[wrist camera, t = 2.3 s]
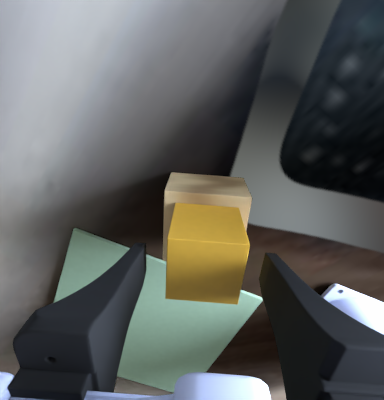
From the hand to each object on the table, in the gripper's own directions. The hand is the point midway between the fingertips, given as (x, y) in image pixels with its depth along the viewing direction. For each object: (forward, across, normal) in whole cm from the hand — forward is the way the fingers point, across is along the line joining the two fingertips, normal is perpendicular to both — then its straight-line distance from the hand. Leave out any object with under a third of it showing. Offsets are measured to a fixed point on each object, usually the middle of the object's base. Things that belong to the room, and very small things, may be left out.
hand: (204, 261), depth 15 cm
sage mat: (+7, +6, +16) cm, 19 cm away
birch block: (+7, 0, 0) cm, 7 cm away
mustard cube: (+3, 0, 0) cm, 3 cm away
